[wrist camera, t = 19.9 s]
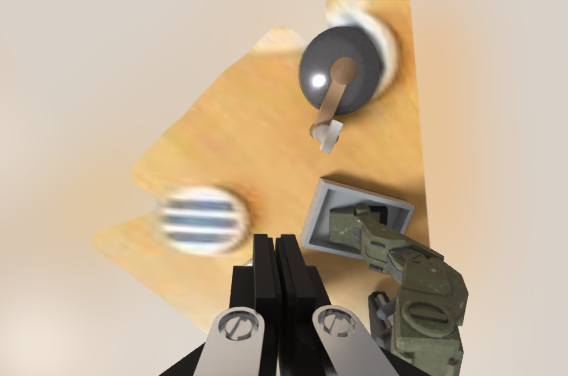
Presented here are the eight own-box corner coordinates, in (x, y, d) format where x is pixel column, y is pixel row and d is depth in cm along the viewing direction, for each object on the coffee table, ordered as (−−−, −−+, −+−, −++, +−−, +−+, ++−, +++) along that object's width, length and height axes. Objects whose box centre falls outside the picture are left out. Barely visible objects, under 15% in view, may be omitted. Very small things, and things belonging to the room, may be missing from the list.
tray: (381, 256, 53) (389, 265, 50) (299, 238, 50) (302, 247, 47) (405, 200, 50) (415, 207, 47) (320, 177, 47) (324, 182, 44)
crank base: (359, 123, 45) (362, 124, 44) (288, 101, 43) (290, 100, 41) (387, 45, 42) (392, 43, 41) (313, 16, 40) (315, 13, 38)
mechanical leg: (409, 200, 49) (534, 341, 20) (405, 237, 51) (513, 413, 22) (329, 199, 50) (340, 328, 22) (328, 235, 52) (337, 395, 24)
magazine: (416, 442, 57) (436, 383, 39) (400, 447, 56) (414, 389, 39) (377, 355, 71) (380, 282, 53) (365, 358, 70) (364, 287, 53)
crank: (335, 54, 40) (356, 42, 32) (357, 64, 41) (383, 55, 33) (301, 138, 43) (313, 147, 35) (322, 147, 44) (338, 157, 36)
